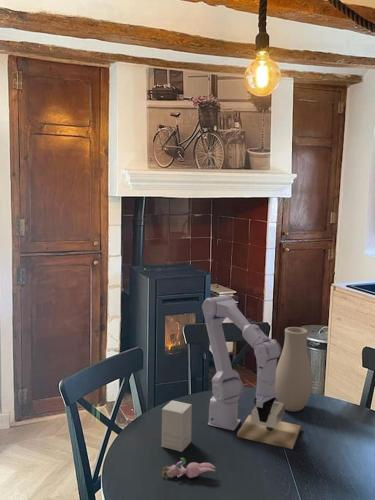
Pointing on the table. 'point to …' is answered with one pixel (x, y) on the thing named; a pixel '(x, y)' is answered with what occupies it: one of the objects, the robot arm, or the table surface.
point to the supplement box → (176, 425)
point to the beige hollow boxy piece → (270, 415)
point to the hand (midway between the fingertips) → (264, 420)
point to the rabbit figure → (187, 469)
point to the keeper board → (270, 433)
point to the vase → (294, 371)
